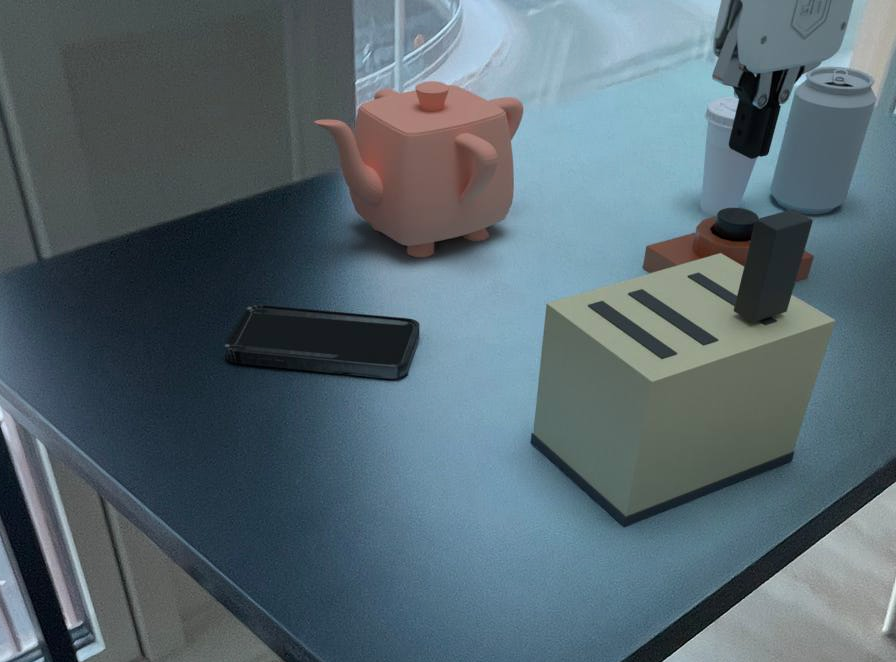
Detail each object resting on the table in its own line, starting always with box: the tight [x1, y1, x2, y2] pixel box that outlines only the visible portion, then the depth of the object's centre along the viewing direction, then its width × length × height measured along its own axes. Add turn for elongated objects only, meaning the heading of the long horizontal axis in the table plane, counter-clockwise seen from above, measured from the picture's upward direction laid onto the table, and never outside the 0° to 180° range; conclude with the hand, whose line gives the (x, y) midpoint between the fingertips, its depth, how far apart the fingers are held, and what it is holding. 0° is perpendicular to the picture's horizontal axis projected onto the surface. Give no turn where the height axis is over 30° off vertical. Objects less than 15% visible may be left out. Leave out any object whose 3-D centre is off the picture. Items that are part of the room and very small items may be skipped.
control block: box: [642, 216, 815, 283], centre depth 91 cm, size 12×9×4 cm
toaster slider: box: [734, 209, 814, 323], centre depth 63 cm, size 3×2×6 cm, turn 119°
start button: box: [713, 207, 760, 242], centre depth 90 cm, size 4×4×2 cm
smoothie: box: [700, 72, 758, 217], centre depth 97 cm, size 6×6×14 cm
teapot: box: [314, 80, 524, 258], centre depth 94 cm, size 17×16×13 cm
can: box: [770, 66, 877, 215], centre depth 99 cm, size 8×8×12 cm
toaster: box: [530, 253, 837, 527], centre depth 69 cm, size 15×11×11 cm
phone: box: [224, 304, 421, 380], centre depth 83 cm, size 8×1×15 cm
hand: (747, 151), depth 85 cm, fingers closed
